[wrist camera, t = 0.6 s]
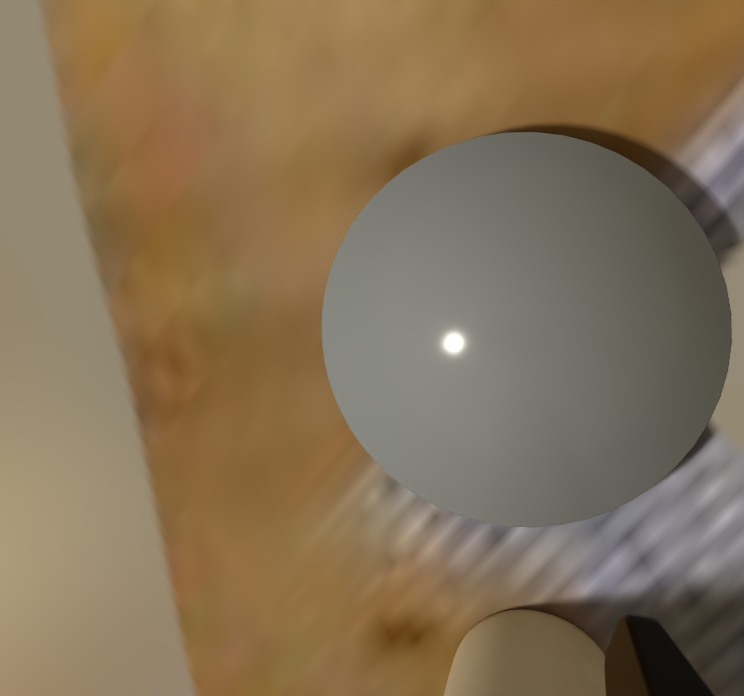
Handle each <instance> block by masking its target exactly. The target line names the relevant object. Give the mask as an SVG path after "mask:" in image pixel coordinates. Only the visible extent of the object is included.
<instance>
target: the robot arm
mask: <svg viewBox="0 0 744 696" xmlns="http://www.w3.org/2000/svg"><path fill="white" fill-rule="evenodd" d="M604 671H605V689H606V696H715V695H714V693H713V692H712V691H711V689H710V688H709V687H708V685H707V684H706V683H705V681H704V680H703V679H702V678H701V676H700V675H699V674H698V672H697V671H696V670H695V668H694V667H693V666H692V664H691V663H690V662H689V660H688V659H687V658H686V656H685V655H684V654H683V652H682V651H681V650H680V648H679V647H678V646H677V644H676V643H675V642H674V640H673V639H672V638H671V636H670V635H669V634H668V632H667V631H666V630H665V628H664V627H663V626H662V625H661V623H660V622H659V621H657V620H656V619H654V618H652V617H648V616H642V615H637V614H631V613H625V614H623V615H622V616H621V617H620V618H619V620H618V623H617V625H616V628H615V631H614V633H613V636H612V638H611V641H610V644H609V646H608V649H607V652H606V656H605V666H604Z"/></svg>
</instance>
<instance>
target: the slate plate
mask: <svg viewBox="0 0 744 696" xmlns="http://www.w3.org/2000/svg"><path fill="white" fill-rule="evenodd" d="M731 343H732V339H731V311H730V304H729V298H728V293H727V287H726V283H725V280H724V277H723V274H722V271H721V268H720V265H719V262H718V259H717V256H716V254H715V252H714V250H713V249H712V247H711V245H710V243H709V241H708V239H707V237H706V235H705V233H704V231H703V230H702V228H701V227H700V225H699V224H698V222H697V221H696V220H695V218H694V217H693V215H692V214H691V213H690V211H689V210H688V208H687V207H686V206H685V205H684V204H683V203H682V202H681V201H680V200H679V199H678V198H677V197H676V196H675V194H674V193H673V192H672V191H671V190H670V189H669V188H668V187H667V186H666V185H664V184H663V183H662V182H661V181H659V180H658V179H657V178H656V177H654V176H653V175H652V174H650V173H649V172H648V171H647V170H645V169H644V168H642V167H641V166H639V165H637V164H636V163H634V162H632V161H630V160H629V159H627V158H625V157H624V156H622V155H620V154H618V153H616V152H613V151H611V150H609V149H606V148H604V147H601V146H599V145H596V144H594V143H591V142H588V141H584V140H580V139H576V138H572V137H568V136H564V135H556V134H548V133H539V132H511V133H500V134H494V135H487V136H481V137H476V138H473V139H469V140H466V141H463V142H459V143H456V144H453V145H450V146H448V147H445V148H443V149H441V150H439V151H436V152H434V153H432V154H430V155H428V156H426V157H424V158H422V159H421V160H419V161H418V162H416V163H414V164H413V165H411V166H409V167H408V168H406V169H405V170H403V171H402V172H401V173H399V174H398V175H397V176H396V177H395V178H393V179H392V180H391V181H390V182H388V183H387V184H386V185H385V186H383V188H382V189H381V190H380V191H379V192H378V193H377V194H376V195H375V196H374V197H373V198H372V199H371V200H370V201H369V202H368V203H367V204H366V206H365V207H364V208H363V210H362V211H361V212H360V214H359V215H358V217H357V218H356V219H355V221H354V222H353V223H352V225H351V227H350V228H349V230H348V232H347V234H346V236H345V237H344V239H343V241H342V243H341V245H340V247H339V249H338V252H337V254H336V257H335V259H334V262H333V264H332V267H331V269H330V273H329V277H328V281H327V285H326V289H325V294H324V302H323V310H322V345H323V353H324V361H325V366H326V370H327V374H328V378H329V382H330V386H331V388H332V391H333V394H334V396H335V399H336V401H337V404H338V407H339V409H340V411H341V413H342V414H343V416H344V418H345V420H346V422H347V424H348V426H349V428H350V429H351V431H352V432H353V434H354V435H355V436H356V438H357V439H358V441H359V442H360V444H361V445H362V447H363V448H364V449H365V450H366V451H367V452H368V454H369V455H370V456H371V457H372V458H373V459H374V460H375V462H376V463H377V464H378V465H379V466H380V467H381V468H382V469H383V470H385V471H386V472H387V473H388V474H389V475H390V476H391V477H392V478H394V479H395V480H396V481H397V482H398V483H400V484H401V485H403V486H404V487H405V488H407V489H408V490H410V491H411V492H412V493H414V494H415V495H417V496H419V497H420V498H422V499H424V500H426V501H428V502H430V503H431V504H433V505H435V506H437V507H439V508H442V509H444V510H447V511H449V512H452V513H454V514H457V515H459V516H462V517H466V518H469V519H473V520H477V521H480V522H484V523H490V524H497V525H503V526H513V527H542V526H554V525H562V524H567V523H572V522H576V521H581V520H586V519H588V518H591V517H594V516H597V515H600V514H603V513H606V512H609V511H611V510H613V509H615V508H617V507H619V506H621V505H623V504H625V503H627V502H629V501H631V500H633V499H635V498H636V497H638V496H639V495H641V494H642V493H644V492H645V491H647V490H648V489H650V488H651V487H653V486H654V485H656V484H657V483H658V482H659V481H660V480H661V479H663V478H664V477H665V476H666V475H667V474H668V473H669V472H670V471H672V470H673V469H674V468H675V467H676V466H677V465H678V464H679V463H680V461H681V460H682V459H683V458H684V457H685V456H686V454H687V453H688V452H689V451H690V450H691V449H692V447H693V446H694V445H695V443H696V442H697V440H698V439H699V437H700V435H701V434H702V432H703V431H704V429H705V428H706V426H707V424H708V423H709V421H710V419H711V416H712V414H713V412H714V410H715V407H716V405H717V403H718V401H719V399H720V396H721V393H722V389H723V386H724V382H725V379H726V375H727V372H728V366H729V358H730V351H731Z"/></svg>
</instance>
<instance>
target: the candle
mask: <svg viewBox="0 0 744 696" xmlns="http://www.w3.org/2000/svg"><path fill="white" fill-rule="evenodd" d="M604 666H605V654H604V653H603V651H602V650H601V649H600V647H599V646H598V645H597V644H596V643H595V642H594V641H593V639H591V638H590V637H589V636H588V635H587V634H586V633H585V632H583V631H582V630H581V629H579V628H578V627H576V626H575V625H573V624H571V623H570V622H568V621H566V620H564V619H562V618H559V617H557V616H555V615H551V614H548V613H545V612H540V611H535V610H509V611H503V612H499V613H496V614H493V615H491V616H489V617H486V618H484V619H483V620H481V621H480V622H478V623H477V624H476V625H475V626H474V627H472V628H471V629H470V630H469V632H468V633H467V634H466V635H465V637H464V639H463V640H462V642H461V644H460V646H459V647H458V650H457V652H456V655H455V658H454V661H453V664H452V668H451V671H450V674H449V678H448V682H447V686H446V689H445V693H444V696H606V689H605V671H604Z"/></svg>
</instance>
